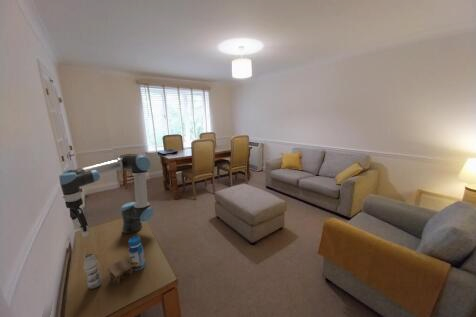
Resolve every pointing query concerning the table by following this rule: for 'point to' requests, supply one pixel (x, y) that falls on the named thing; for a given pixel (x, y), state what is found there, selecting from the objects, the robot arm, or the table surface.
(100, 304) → the table surface
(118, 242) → the table surface
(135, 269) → the blue lidded jar
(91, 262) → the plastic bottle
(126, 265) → the brown piece
